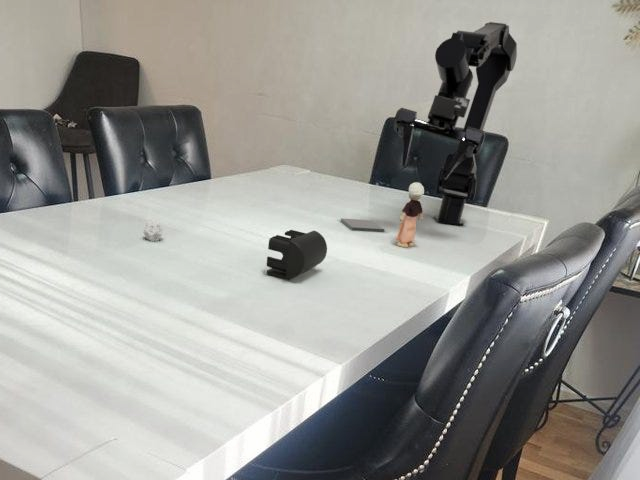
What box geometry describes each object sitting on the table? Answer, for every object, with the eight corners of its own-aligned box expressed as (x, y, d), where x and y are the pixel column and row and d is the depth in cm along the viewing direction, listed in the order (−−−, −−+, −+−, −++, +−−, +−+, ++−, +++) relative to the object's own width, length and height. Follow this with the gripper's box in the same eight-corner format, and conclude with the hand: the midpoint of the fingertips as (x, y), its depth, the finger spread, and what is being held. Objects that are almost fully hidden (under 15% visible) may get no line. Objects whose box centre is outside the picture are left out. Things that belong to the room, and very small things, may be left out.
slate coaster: (340, 220, 153) (341, 218, 153) (372, 222, 155) (372, 220, 155) (351, 230, 147) (352, 227, 146) (384, 231, 149) (384, 229, 148)
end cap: (300, 285, 110) (306, 244, 106) (264, 275, 112) (268, 235, 108) (324, 272, 117) (330, 234, 114) (289, 263, 120) (294, 225, 116)
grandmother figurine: (403, 240, 144) (417, 179, 137) (419, 244, 142) (433, 182, 135) (387, 245, 139) (400, 182, 132) (403, 250, 137) (417, 186, 130)
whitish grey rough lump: (139, 238, 122) (139, 221, 120) (155, 236, 124) (155, 219, 123) (151, 243, 120) (151, 226, 119) (166, 240, 123) (167, 224, 121)
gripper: (408, 63, 127) (380, 143, 129) (501, 88, 124) (471, 169, 126) (408, 92, 138) (382, 165, 140) (493, 116, 135) (465, 190, 137)
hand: (424, 172), depth 135 cm, fingers open, 9 cm apart
